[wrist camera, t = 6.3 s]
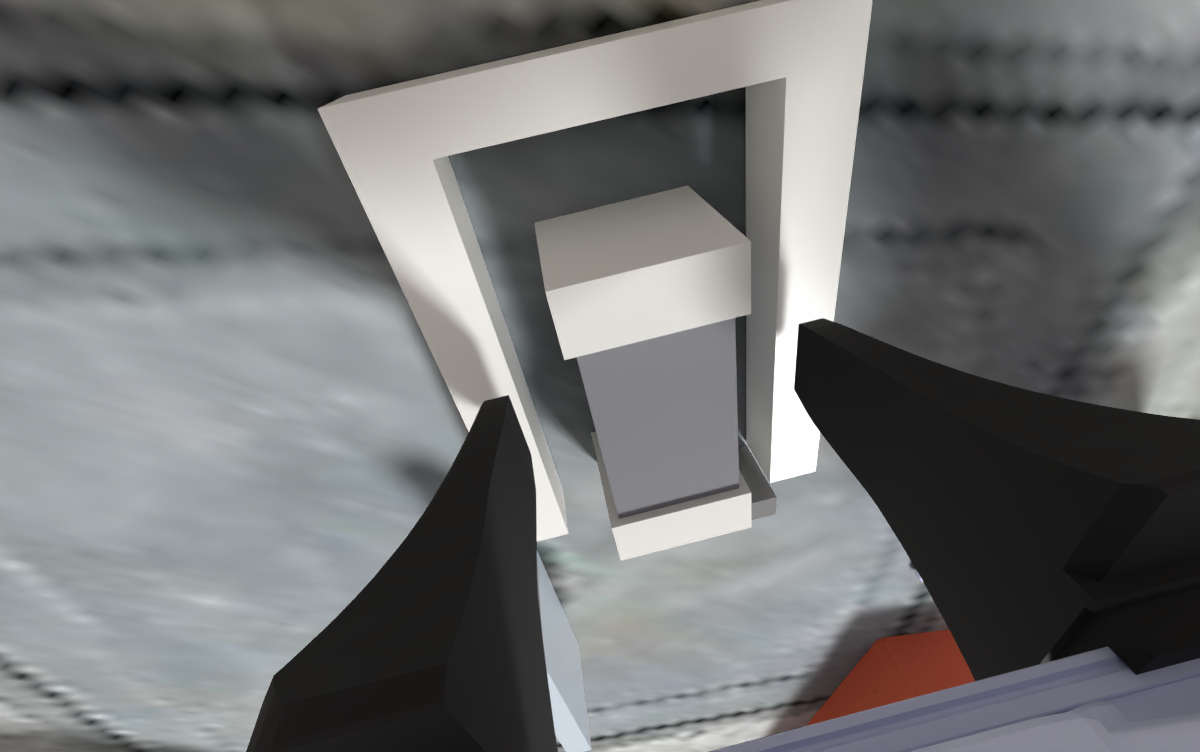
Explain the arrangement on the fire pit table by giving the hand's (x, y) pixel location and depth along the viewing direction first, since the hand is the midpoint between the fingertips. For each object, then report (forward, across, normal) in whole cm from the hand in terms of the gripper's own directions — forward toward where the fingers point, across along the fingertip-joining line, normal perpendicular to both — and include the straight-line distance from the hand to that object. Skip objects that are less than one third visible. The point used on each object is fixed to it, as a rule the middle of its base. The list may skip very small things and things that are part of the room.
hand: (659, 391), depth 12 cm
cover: (+3, +6, +12) cm, 14 cm away
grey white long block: (+3, 0, +1) cm, 3 cm away
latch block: (+3, -3, +7) cm, 8 cm away
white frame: (+3, 0, 0) cm, 3 cm away
